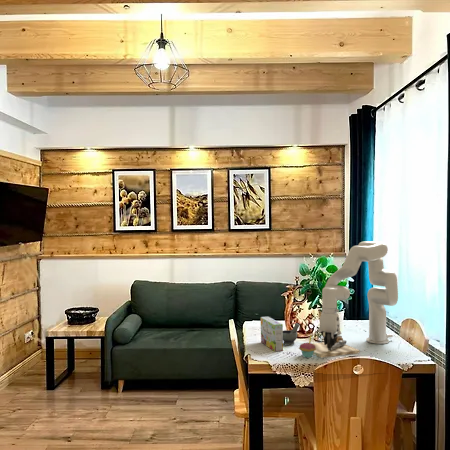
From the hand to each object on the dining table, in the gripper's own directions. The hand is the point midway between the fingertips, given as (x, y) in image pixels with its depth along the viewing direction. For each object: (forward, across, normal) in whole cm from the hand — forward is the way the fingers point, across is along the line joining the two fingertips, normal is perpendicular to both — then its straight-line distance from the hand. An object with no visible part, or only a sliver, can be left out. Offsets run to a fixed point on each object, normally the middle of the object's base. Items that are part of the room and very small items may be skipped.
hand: (329, 344), depth 282 cm
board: (+5, +4, -8) cm, 10 cm away
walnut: (+4, +4, -20) cm, 21 cm away
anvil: (+4, +6, -22) cm, 23 cm away
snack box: (+6, +33, +5) cm, 34 cm away
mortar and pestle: (+6, +28, -6) cm, 29 cm away
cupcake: (+5, +7, +10) cm, 14 cm away
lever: (+3, 0, -9) cm, 9 cm away
